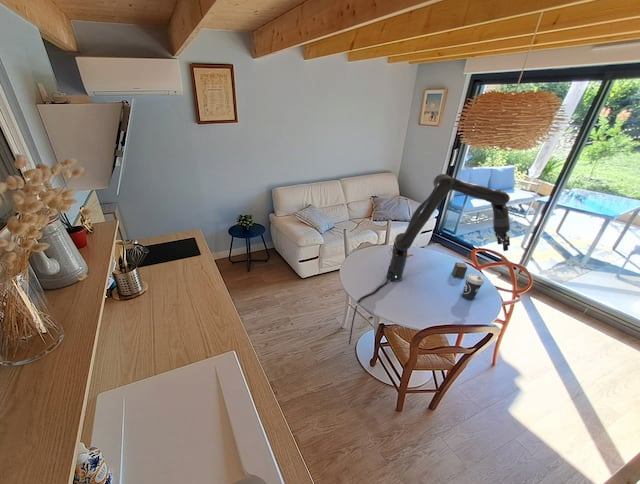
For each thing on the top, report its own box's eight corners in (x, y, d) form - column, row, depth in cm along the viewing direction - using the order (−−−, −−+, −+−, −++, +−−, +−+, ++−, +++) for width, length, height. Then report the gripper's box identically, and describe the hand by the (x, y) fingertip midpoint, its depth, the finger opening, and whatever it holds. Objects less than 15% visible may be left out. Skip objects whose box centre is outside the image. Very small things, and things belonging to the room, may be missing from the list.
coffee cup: (470, 303, 175) (478, 283, 168) (456, 295, 183) (463, 275, 175) (479, 298, 179) (488, 279, 172) (465, 290, 186) (472, 271, 179)
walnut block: (451, 272, 205) (455, 262, 201) (461, 273, 204) (465, 263, 199) (454, 277, 200) (457, 266, 196) (463, 278, 199) (467, 267, 194)
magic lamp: (412, 264, 215) (415, 252, 209) (387, 262, 218) (390, 249, 213) (410, 260, 221) (414, 247, 215) (386, 257, 224) (389, 245, 219)
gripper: (489, 220, 174) (491, 243, 180) (498, 229, 162) (500, 254, 168) (503, 217, 171) (505, 240, 177) (514, 226, 159) (515, 251, 165)
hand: (502, 247), depth 172 cm, fingers open, 8 cm apart
